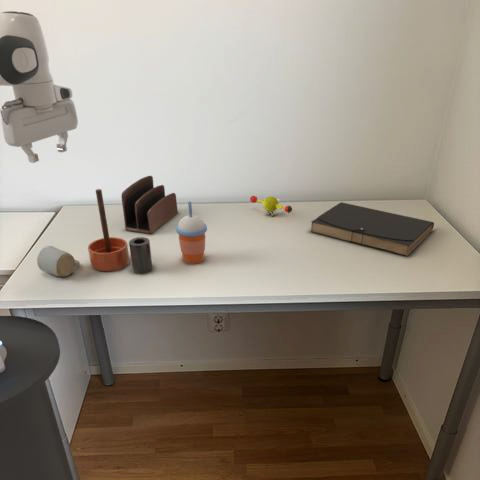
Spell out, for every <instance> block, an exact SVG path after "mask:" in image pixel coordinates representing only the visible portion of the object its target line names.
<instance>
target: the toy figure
mask: <svg viewBox="0 0 480 480" xmlns="http://www.w3.org/2000/svg"><path fill="white" fill-rule="evenodd" d="M249 201H250V202H251V203H256V202H258V203H259V204H263V208H264V210H265V211H267V214H266V215H267V216H271V217H274V216H275V213H274V212H275V211H276V210H278V209H280V210H283V209H284V212H286V213H288V214H289V213H291V212H292V211H293V207H292V206H291V205H286V206H283V205H280V202H281V199H279V198H276V197H274V196H268V197H266V198H265V199H264V200H263V199H258V197H257V196H256V195H252V196H251V197H250V199H249Z"/></svg>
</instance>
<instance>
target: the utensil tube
mask: <svg viewBox="0 0 480 480" xmlns="http://www.w3.org/2000/svg"><path fill="white" fill-rule="evenodd" d="M128 245H129V246H128V247H129V253H130V259H131V267H132V271H133V273H135V274H137V275H146V274H149V273H151V272H153V270H154V269H153V267H154V266H153V257H152V250H151V240H150V239H149V238H148V237H145V236H139V237H137V236H136V237H134V238H131V239H130V240H129V241H128Z"/></svg>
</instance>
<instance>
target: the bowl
mask: <svg viewBox="0 0 480 480" xmlns="http://www.w3.org/2000/svg"><path fill="white" fill-rule="evenodd" d="M109 238H110V245H111V251H112V252H110V253H106V249H105V243H104V237H102V238H99V239H95V240H93V241H92V242H90V243H89V244H88V245H87V251H88V257H89V263H90V266H91V268H93V269H95V270H97V271H100V272H114V271H118V270H120V269H122V268H124V267H126V266H127V265H128V264H129V263H130V254H129V253H130V251H129V246H128V245H129V244H128V242H127V240H125V239H123V238H121V237H115V236H111V237H110V236H109Z"/></svg>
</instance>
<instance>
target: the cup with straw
mask: <svg viewBox="0 0 480 480" xmlns="http://www.w3.org/2000/svg"><path fill="white" fill-rule="evenodd" d="M187 205H188V206H187V207H188V215H185V216H184V217H182V218H181V219H180V220H179V222H178V224H177V225H176V227H175V232H176V234H178V242H179V247H180V251H181V254H182V255H181V256H182V260H183V262H185V263H186V264H189V265H191V264H192V265H194V264H199V263H202V262H203V261H204V260H205V250H206V233H207V231H208V225H207V224H206V223H205V221H203V219H202V218H201V217H199V216H197V215H194V214H193V210H192V209H193V208H192V207H193V206H192V201H188V203H187Z"/></svg>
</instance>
